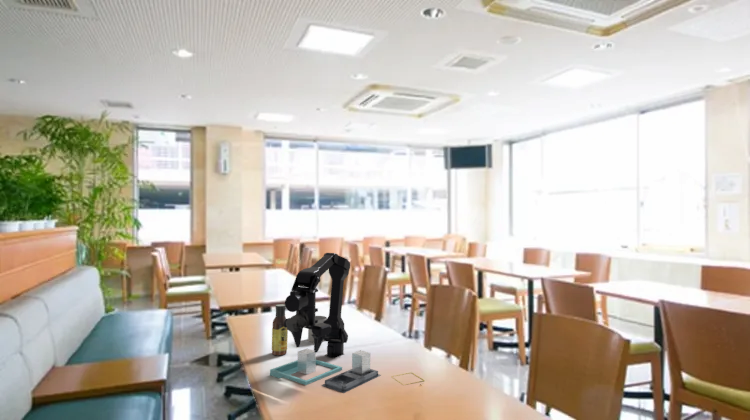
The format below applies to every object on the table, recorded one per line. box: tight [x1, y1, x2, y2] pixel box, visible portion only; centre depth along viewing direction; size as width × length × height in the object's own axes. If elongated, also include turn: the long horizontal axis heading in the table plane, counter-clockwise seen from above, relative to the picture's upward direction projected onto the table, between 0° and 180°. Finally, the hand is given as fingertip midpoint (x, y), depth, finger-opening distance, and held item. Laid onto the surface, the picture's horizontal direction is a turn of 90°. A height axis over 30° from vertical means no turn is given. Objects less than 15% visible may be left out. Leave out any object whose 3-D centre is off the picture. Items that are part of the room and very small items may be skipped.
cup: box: [307, 315, 328, 343], centre depth 204 cm, size 8×8×10 cm
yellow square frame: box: [391, 372, 425, 386], centre depth 154 cm, size 9×9×2 cm
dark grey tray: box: [321, 368, 382, 394], centre depth 152 cm, size 20×10×3 cm, turn 143°
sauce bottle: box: [271, 303, 289, 356], centre depth 183 cm, size 7×6×20 cm
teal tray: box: [269, 359, 343, 386], centre depth 160 cm, size 18×18×2 cm
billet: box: [296, 348, 317, 375], centre depth 160 cm, size 4×4×8 cm
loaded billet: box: [351, 349, 371, 377], centre depth 156 cm, size 4×4×8 cm
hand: (306, 349), depth 160 cm, fingers open, 9 cm apart
